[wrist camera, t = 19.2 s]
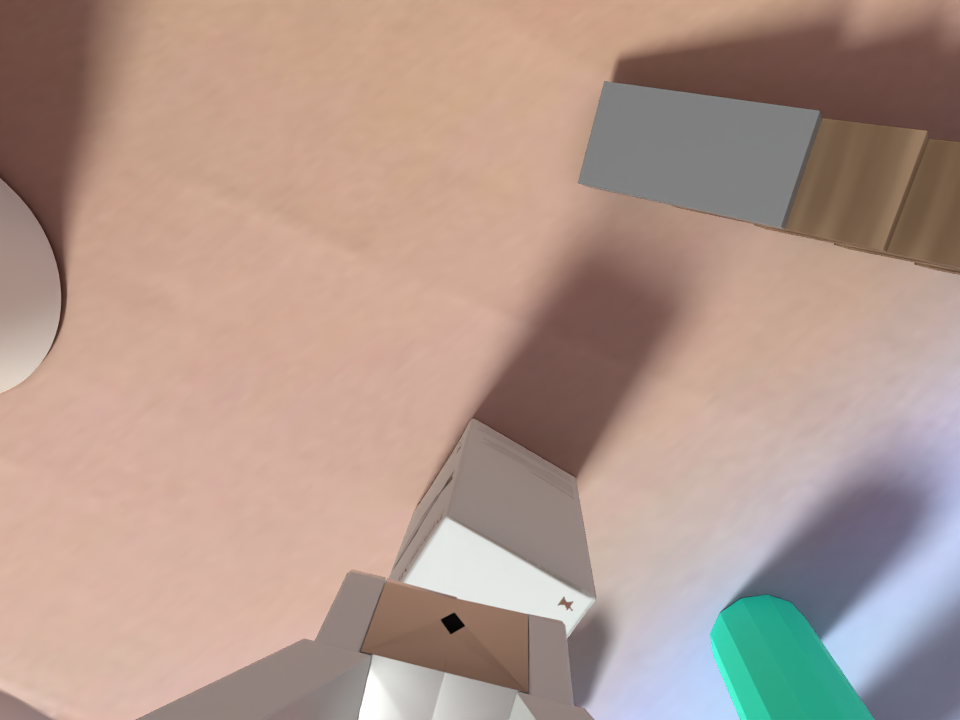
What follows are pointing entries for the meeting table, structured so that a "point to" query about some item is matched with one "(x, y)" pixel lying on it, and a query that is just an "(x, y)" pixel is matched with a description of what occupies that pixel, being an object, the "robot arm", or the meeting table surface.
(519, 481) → the supplement box
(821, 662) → the candle
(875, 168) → the domino
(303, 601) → the meeting table surface
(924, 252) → the domino
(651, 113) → the gray domino
